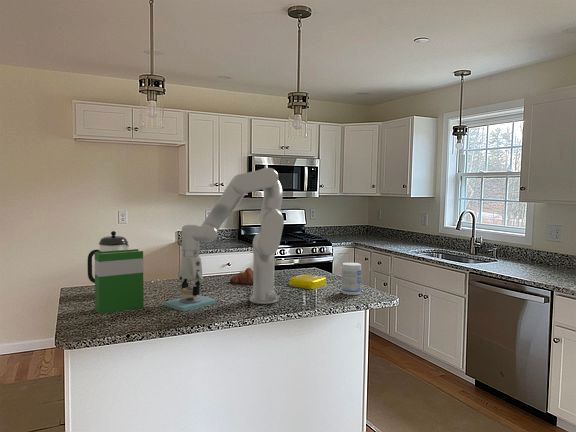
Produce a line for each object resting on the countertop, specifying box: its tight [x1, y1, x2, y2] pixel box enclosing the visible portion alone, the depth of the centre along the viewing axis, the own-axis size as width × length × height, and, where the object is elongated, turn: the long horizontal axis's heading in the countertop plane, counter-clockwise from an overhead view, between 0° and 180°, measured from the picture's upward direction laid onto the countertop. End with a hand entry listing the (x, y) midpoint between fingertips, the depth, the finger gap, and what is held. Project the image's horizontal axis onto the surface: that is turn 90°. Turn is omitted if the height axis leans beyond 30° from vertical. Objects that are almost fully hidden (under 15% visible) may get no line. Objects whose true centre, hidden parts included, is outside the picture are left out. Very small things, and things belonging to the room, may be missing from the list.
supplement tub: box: [341, 262, 362, 296], centre depth 218 cm, size 10×10×15 cm
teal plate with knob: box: [163, 286, 218, 312], centre depth 194 cm, size 14×18×8 cm
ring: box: [181, 286, 200, 298], centre depth 194 cm, size 7×7×3 cm
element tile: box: [289, 273, 327, 290], centre depth 236 cm, size 15×15×5 cm
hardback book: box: [94, 248, 145, 315], centre depth 185 cm, size 18×7×24 cm, turn 125°
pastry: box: [229, 267, 253, 286], centre depth 240 cm, size 17×15×8 cm
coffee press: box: [87, 230, 131, 284], centre depth 208 cm, size 17×16×30 cm
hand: (190, 293), depth 194 cm, fingers closed on ring, 7 cm apart
